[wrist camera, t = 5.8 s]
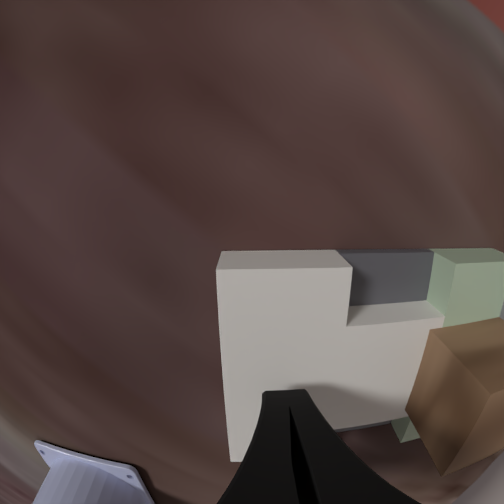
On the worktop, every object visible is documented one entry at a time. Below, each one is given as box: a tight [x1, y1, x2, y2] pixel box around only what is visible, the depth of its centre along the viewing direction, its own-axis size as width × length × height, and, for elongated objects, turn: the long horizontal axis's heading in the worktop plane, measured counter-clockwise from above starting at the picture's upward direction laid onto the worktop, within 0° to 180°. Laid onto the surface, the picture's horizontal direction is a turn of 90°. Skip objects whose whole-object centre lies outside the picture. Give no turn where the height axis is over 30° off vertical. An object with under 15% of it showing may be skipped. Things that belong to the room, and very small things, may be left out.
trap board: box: [216, 248, 504, 462], centre depth 10 cm, size 9×12×4 cm
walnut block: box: [405, 317, 504, 477], centre depth 8 cm, size 4×4×4 cm
